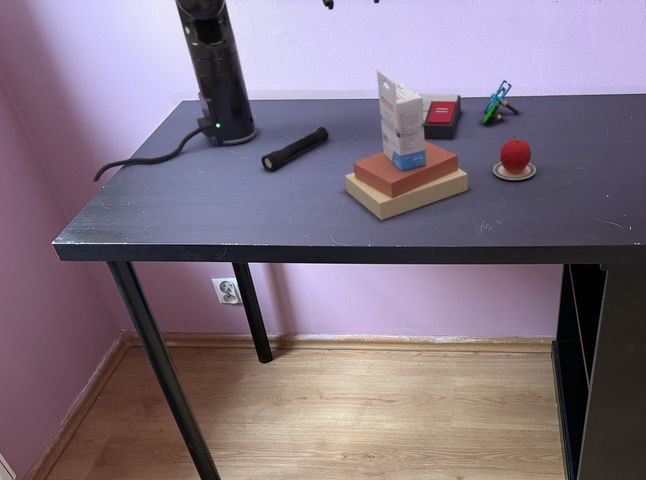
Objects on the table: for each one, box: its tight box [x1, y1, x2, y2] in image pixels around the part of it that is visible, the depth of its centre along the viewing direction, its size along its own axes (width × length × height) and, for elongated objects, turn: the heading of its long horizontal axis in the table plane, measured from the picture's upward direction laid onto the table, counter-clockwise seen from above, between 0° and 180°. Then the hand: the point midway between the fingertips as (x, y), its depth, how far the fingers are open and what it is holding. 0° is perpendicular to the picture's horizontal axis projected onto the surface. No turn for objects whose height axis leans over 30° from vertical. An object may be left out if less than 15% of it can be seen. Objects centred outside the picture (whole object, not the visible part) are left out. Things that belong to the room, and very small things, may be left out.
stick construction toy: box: [482, 79, 520, 124], centre depth 143 cm, size 12×7×8 cm
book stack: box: [344, 140, 469, 221], centre depth 118 cm, size 18×13×6 cm
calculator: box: [417, 93, 462, 140], centre depth 141 cm, size 11×4×15 cm
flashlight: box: [260, 126, 329, 172], centre depth 133 cm, size 3×16×3 cm, turn 145°
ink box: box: [376, 69, 426, 171], centre depth 111 cm, size 8×5×15 cm, turn 25°
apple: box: [492, 136, 537, 181], centre depth 122 cm, size 8×8×6 cm
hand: (355, 3), depth 117 cm, fingers open, 8 cm apart
